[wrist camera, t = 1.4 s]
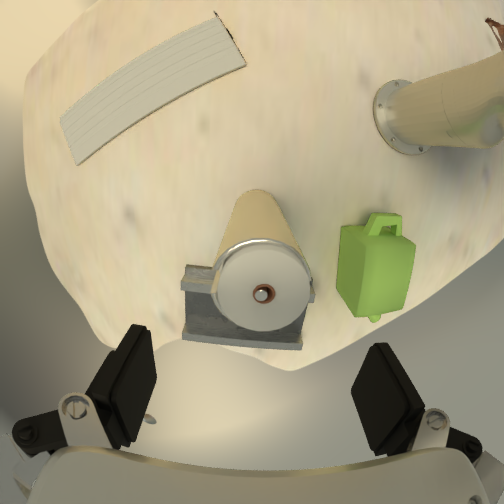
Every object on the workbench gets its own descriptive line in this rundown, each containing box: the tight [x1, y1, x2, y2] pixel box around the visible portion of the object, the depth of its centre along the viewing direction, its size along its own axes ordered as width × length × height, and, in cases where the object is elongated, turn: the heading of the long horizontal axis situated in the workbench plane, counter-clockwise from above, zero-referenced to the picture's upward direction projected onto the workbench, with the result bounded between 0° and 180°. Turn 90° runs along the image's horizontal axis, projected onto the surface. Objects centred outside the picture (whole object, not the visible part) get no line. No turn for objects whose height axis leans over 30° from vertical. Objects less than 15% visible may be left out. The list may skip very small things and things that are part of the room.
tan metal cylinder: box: [210, 190, 312, 331], centre depth 28 cm, size 6×6×25 cm
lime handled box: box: [336, 213, 416, 323], centre depth 38 cm, size 18×10×10 cm, turn 2°
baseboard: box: [60, 12, 246, 166], centre depth 32 cm, size 31×3×12 cm
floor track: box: [181, 265, 315, 350], centre depth 43 cm, size 20×13×4 cm, turn 84°
